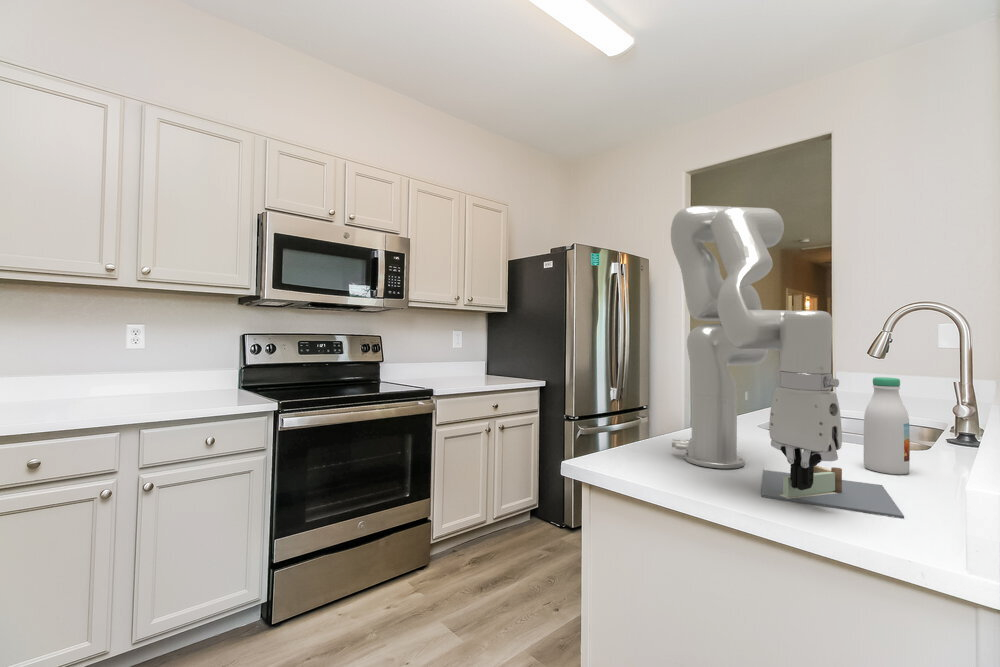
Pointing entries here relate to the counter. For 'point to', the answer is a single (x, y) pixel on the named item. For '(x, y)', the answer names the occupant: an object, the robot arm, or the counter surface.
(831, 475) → the fence hinged panel
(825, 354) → the robot arm
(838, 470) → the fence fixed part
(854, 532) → the counter surface
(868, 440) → the milk bottle
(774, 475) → the board
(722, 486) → the counter surface
